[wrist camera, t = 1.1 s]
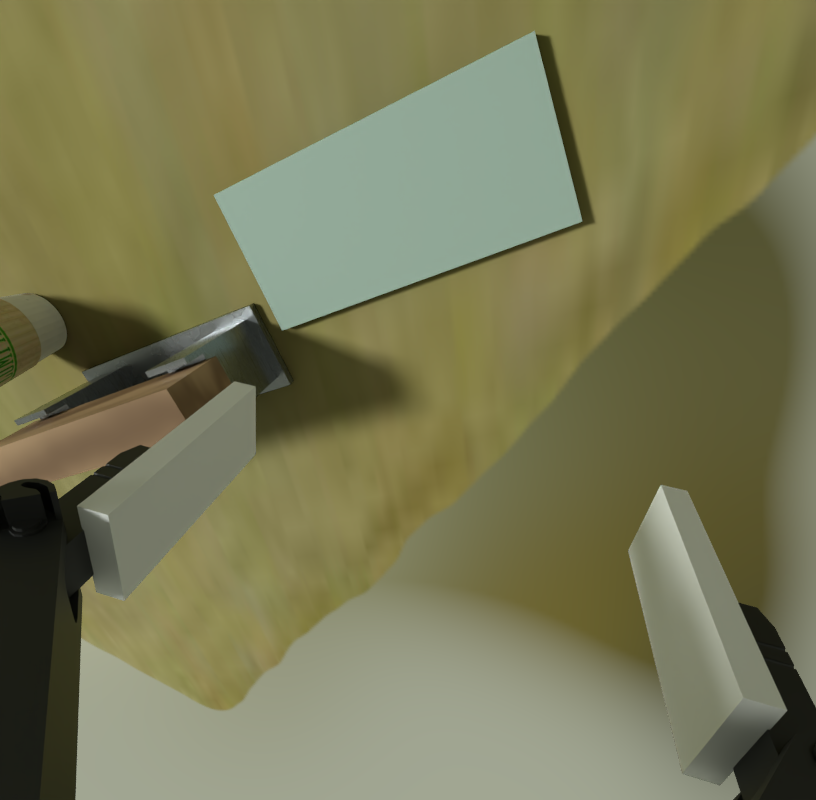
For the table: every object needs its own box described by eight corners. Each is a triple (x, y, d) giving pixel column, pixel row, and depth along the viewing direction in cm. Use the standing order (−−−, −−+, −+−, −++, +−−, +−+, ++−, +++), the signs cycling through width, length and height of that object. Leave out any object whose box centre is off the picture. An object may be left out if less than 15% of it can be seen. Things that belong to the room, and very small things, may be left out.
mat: (220, 193, 41) (213, 195, 40) (534, 34, 32) (534, 30, 31) (287, 327, 45) (282, 330, 44) (581, 219, 36) (582, 221, 35)
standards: (87, 369, 52) (-1, 413, 44) (253, 303, 45) (186, 341, 36) (130, 432, 55) (56, 486, 46) (293, 381, 47) (240, 433, 39)
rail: (33, 421, 46) (-30, 457, 41) (215, 356, 38) (166, 389, 33) (60, 457, 47) (2, 495, 42) (241, 400, 40) (197, 439, 35)
